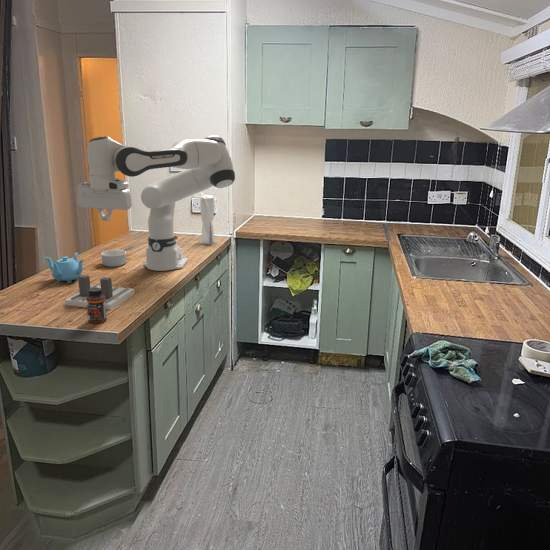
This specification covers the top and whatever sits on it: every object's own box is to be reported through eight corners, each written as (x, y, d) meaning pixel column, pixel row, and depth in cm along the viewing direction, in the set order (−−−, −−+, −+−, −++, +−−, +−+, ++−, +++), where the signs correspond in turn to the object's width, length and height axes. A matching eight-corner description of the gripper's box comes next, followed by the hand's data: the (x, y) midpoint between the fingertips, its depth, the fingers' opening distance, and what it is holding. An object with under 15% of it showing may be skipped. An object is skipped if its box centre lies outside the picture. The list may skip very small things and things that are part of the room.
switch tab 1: (83, 294, 188) (81, 275, 186) (91, 294, 188) (89, 275, 185) (79, 296, 186) (77, 276, 184) (87, 296, 185) (85, 277, 183)
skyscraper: (197, 244, 274) (196, 193, 266) (203, 241, 282) (202, 191, 273) (211, 245, 272) (210, 194, 264) (217, 242, 279) (217, 192, 271)
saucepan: (142, 258, 245) (142, 247, 243) (116, 269, 227) (115, 257, 226) (123, 255, 249) (122, 244, 247) (96, 266, 231) (95, 254, 229)
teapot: (86, 282, 208) (84, 258, 205) (52, 287, 202) (50, 262, 199) (79, 274, 219) (77, 251, 216) (47, 278, 212) (44, 255, 209)
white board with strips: (93, 289, 200) (92, 283, 199) (134, 293, 196) (134, 287, 195) (65, 305, 183) (64, 298, 182) (110, 309, 179) (109, 303, 178)
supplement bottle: (87, 324, 166) (84, 292, 163) (88, 318, 172) (85, 286, 168) (106, 323, 168) (103, 291, 164) (107, 316, 173) (104, 285, 170)
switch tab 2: (105, 296, 186) (103, 277, 184) (112, 297, 186) (111, 277, 184) (101, 298, 184) (100, 279, 182) (109, 299, 183) (107, 279, 181)
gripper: (71, 182, 181) (75, 220, 185) (124, 185, 177) (126, 223, 181) (81, 180, 187) (85, 217, 191) (132, 183, 183) (134, 220, 187)
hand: (105, 220), depth 186 cm, fingers closed
